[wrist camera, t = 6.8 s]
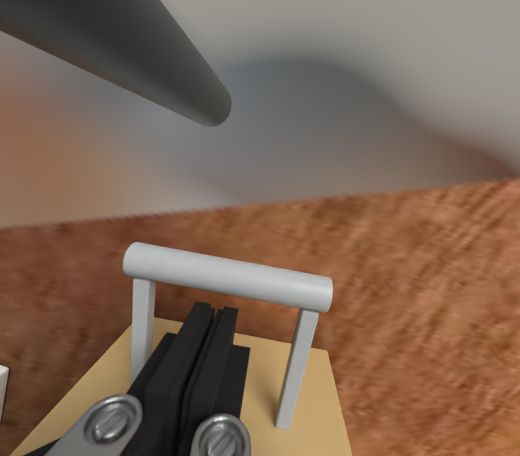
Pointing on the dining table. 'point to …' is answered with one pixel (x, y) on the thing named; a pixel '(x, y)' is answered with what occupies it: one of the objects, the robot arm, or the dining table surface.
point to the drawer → (261, 353)
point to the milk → (3, 386)
